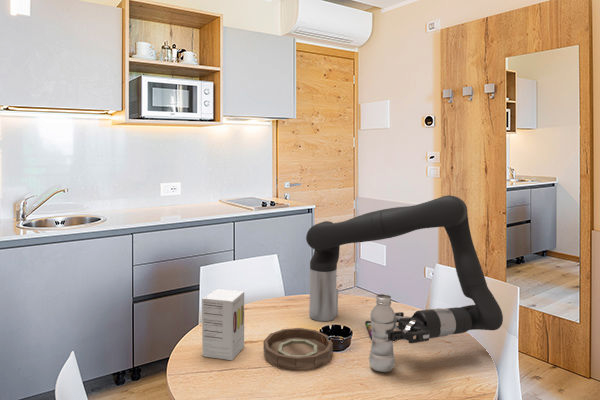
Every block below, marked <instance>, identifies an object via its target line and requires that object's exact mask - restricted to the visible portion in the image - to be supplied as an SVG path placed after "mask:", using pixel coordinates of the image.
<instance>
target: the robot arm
mask: <svg viewBox="0 0 600 400" xmlns="http://www.w3.org/2000/svg"><path fill="white" fill-rule="evenodd" d="M469 224H470V222H469V215H468V206H467V204H466V203H465V201H464V200H463V199H461V198H460V197H457V196H455V195H450V194H449V195H443V196H440V197H438V198H433V199H432V200H428V201H425V202H422V203H418V204H415V205H408V206H399V207H398V206H396V207H390V208H384V209H380V210H379V209H378V210H374V211H370V212H367V213H363V214H361V215H357V216H355V217H352V218H350V219H347V220H343V221H338V222H333V221H330V220H329V221H327V220H326V221H325V220H324V221H321V222H318V223H316V224H314V225H312V226H311V227H310V228H309V229H308V230H307V233H306V236H305V241H306V243H307V245H308V246H309V247H310V248H311V249H313V250H314V252H313V254H312V257H311V259H310V260H309V261H310V262H309V307H308V309H309V314H308V315H309V318H310V319H311V320H314V321H318V322H329V321H333V320H335V319H336V317H338V315H339V313H338V312H339V310H338V309H339V288H337V277H338V276H337V275H338V274H337V273H338V271H337V270H338V262H339V260H340V259H339V258H340V246H343V245H348V244H354V243H365V242H375V241H382V240H386V239H392V238H396V237H401V236H403V235H406V234H409V233H411V232H414V231H418V230H423V229H433V228H444V230H445V232H446V234H447V236H448V239H449V242H450V246H451V249H452V254H453V255H452V256H453V261H454V267H455V271H456V275H457V278H458V282H459V285H460V288H461V291H462V294H463V296H464V297H466V298H468V299H471V301H473V303H474V304H470V305H464V306H461V307H457V306H456V307H447V308H440V307H439V308H432V309H431V308H430V309H421V310H416V311H415V312H414V313H413V314H412V315H411V316H409V315H407V316H406V315H405V313H404V312H401V311H399V312H394V313H395V316H396V320H395V326H394V331H390V332H389V333H388V340H390V341H395V340H396V341H401V340H402V341H404V342H408V344H417V343H422V342H423V343H424V342H428V341H430V340H431V339H437V338H444V337H447V336H450V335H451V336H452V335H457V334H464V333H466V332H468V331H472V330H474V331H475V330H477V331H478V330H479V331H483V330H484V331H497V330H498V329H500V328H501V327H502V325H503V322H504V315H503V312H502V309H501V307H500V305H499V303H498V301H497V299H496V298H495V296H494V295H493V293H492V291H491V290H490V288H489V287H488V283H487V281H486V277H485V274H484V271H483V268H482V266H481V262H480V260H479V257H478V254H477V250H476V249H475V245H474V242H473V238H472V234H471V228H470V225H469ZM397 323H398V324H397ZM414 337H415V338H414Z"/></svg>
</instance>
